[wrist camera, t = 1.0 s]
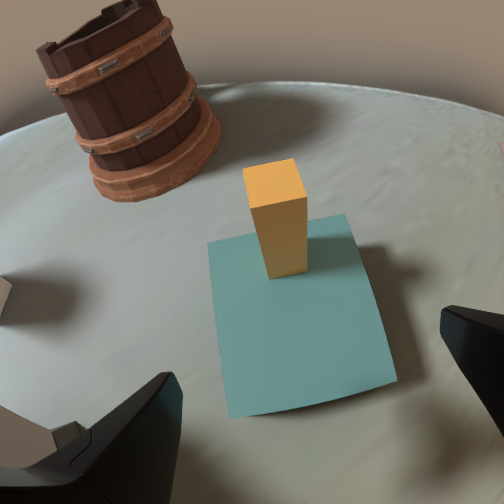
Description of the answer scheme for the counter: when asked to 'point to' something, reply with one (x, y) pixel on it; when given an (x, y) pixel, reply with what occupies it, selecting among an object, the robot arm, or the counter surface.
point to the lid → (293, 304)
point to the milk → (4, 293)
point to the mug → (132, 101)
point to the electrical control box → (501, 148)
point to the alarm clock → (30, 440)
